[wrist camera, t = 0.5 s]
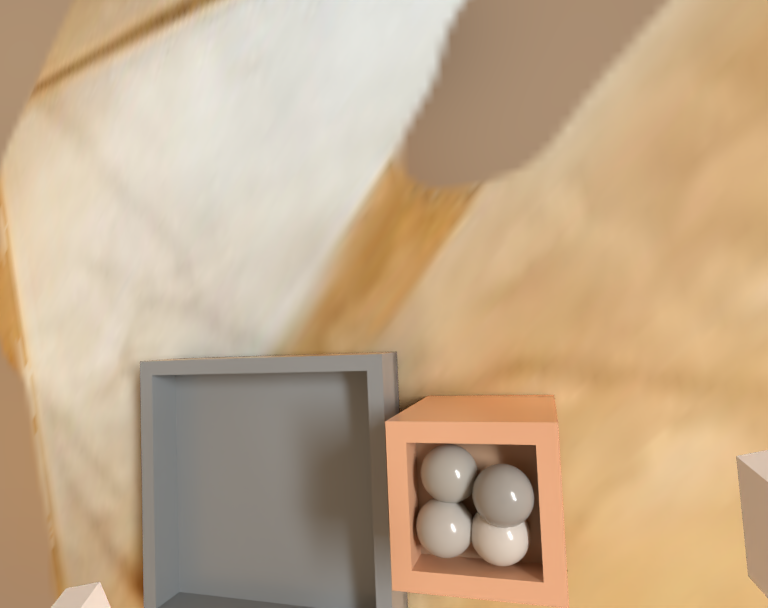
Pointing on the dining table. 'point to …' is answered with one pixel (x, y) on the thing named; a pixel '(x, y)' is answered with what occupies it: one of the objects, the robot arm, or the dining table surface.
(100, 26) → the dining table surface
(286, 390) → the slate dish
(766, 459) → the robot arm
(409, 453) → the peach box
